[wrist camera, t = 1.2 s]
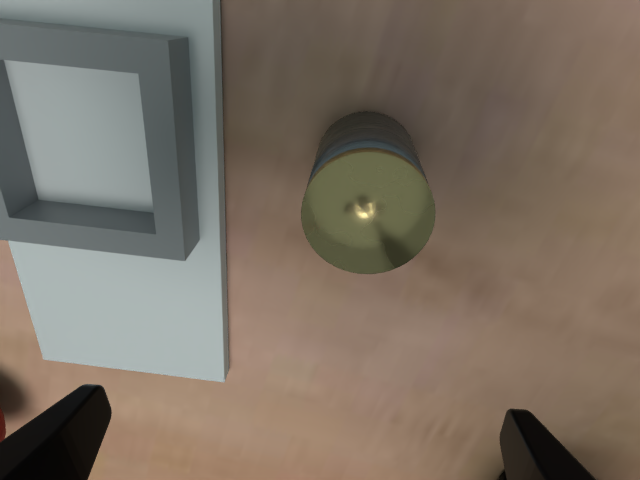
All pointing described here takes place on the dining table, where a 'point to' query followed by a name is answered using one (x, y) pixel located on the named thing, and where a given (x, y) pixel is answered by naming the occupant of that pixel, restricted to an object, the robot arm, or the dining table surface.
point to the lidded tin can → (367, 196)
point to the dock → (117, 180)
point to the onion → (2, 426)
